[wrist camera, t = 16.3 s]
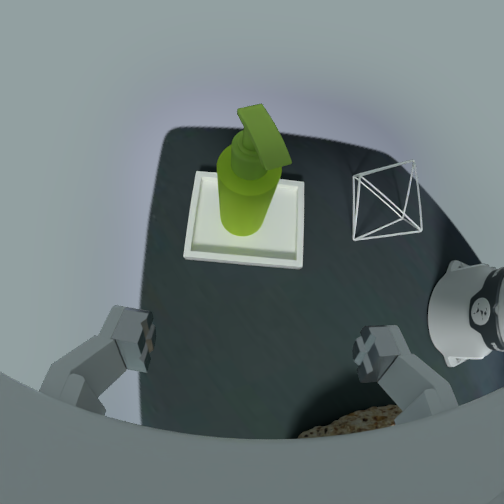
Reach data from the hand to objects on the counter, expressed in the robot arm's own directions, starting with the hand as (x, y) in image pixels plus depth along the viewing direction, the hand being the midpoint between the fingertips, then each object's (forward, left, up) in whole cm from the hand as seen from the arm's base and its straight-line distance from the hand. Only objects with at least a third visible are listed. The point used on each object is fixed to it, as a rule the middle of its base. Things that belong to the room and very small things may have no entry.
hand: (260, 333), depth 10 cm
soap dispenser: (0, -13, -25) cm, 28 cm away
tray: (0, -13, -25) cm, 28 cm away
